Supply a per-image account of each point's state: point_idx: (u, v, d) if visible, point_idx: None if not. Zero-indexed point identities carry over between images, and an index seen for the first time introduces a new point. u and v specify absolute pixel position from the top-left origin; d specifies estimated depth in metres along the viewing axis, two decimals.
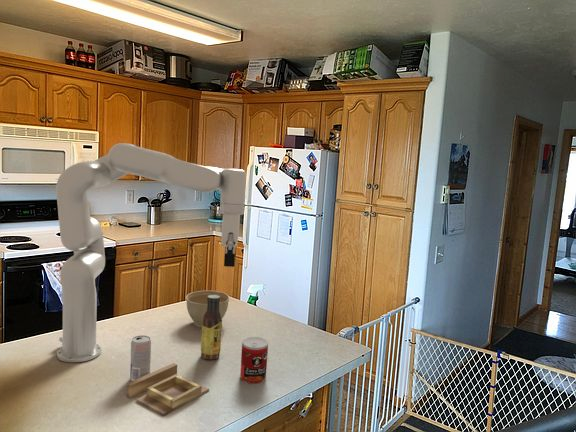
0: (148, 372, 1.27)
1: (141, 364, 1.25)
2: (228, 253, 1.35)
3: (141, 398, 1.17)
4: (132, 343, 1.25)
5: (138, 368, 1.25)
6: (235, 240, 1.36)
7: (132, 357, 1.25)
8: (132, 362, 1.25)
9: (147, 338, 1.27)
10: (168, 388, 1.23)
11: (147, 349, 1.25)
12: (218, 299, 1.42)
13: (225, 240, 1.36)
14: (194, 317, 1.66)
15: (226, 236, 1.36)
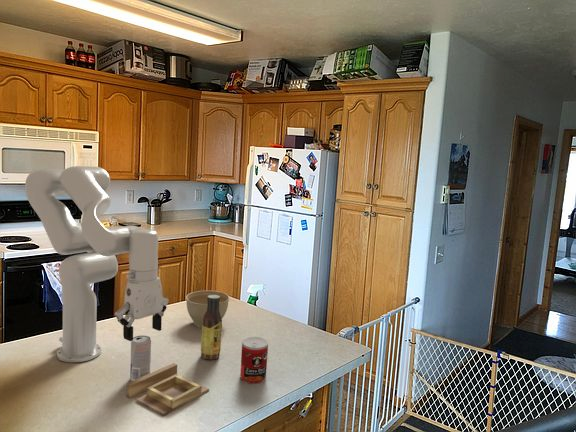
0: (148, 372, 1.27)
1: (141, 364, 1.25)
2: None
3: (141, 398, 1.17)
4: (132, 343, 1.25)
5: (138, 368, 1.25)
6: None
7: (132, 357, 1.25)
8: (132, 362, 1.25)
9: (147, 338, 1.27)
10: (168, 388, 1.23)
11: (147, 349, 1.25)
12: (218, 299, 1.42)
13: None
14: (194, 317, 1.66)
15: None
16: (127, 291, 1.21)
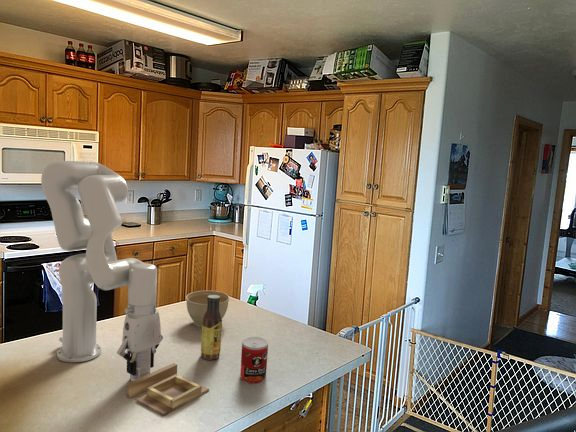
0: (148, 372, 1.27)
1: (141, 364, 1.25)
2: None
3: (141, 398, 1.17)
4: None
5: (138, 368, 1.25)
6: None
7: None
8: None
9: None
10: (168, 388, 1.23)
11: (147, 349, 1.25)
12: (218, 299, 1.42)
13: None
14: (194, 317, 1.66)
15: None
16: (125, 325, 1.23)
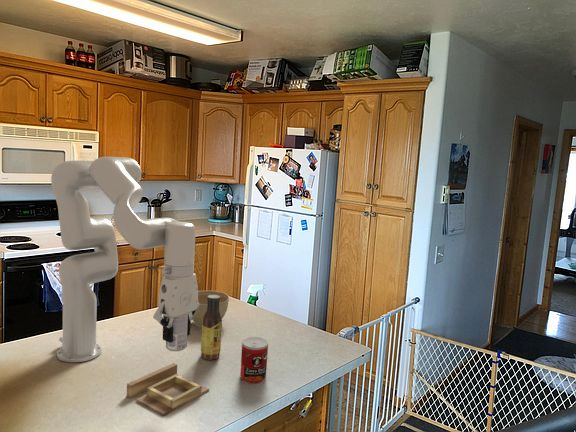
0: (185, 339, 1.17)
1: (178, 331, 1.15)
2: None
3: (141, 398, 1.17)
4: None
5: (175, 334, 1.15)
6: None
7: None
8: None
9: None
10: (168, 388, 1.23)
11: (185, 314, 1.16)
12: (218, 299, 1.42)
13: None
14: (194, 317, 1.66)
15: None
16: (162, 287, 1.13)
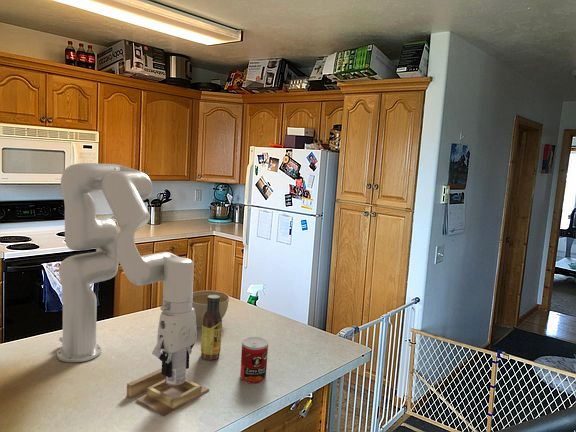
0: (184, 373, 1.19)
1: (177, 365, 1.17)
2: None
3: (141, 398, 1.17)
4: None
5: (174, 369, 1.16)
6: None
7: None
8: None
9: None
10: (168, 388, 1.23)
11: (183, 349, 1.17)
12: (218, 299, 1.42)
13: None
14: None
15: None
16: (161, 323, 1.14)
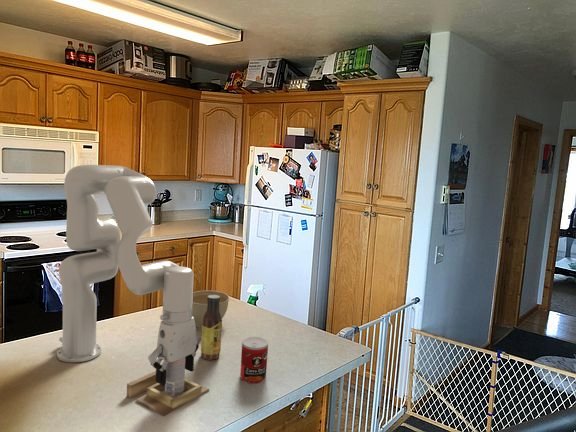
0: (182, 386, 1.19)
1: (175, 379, 1.17)
2: None
3: (141, 398, 1.17)
4: None
5: (172, 382, 1.17)
6: None
7: (166, 371, 1.17)
8: (166, 376, 1.17)
9: None
10: None
11: (182, 362, 1.18)
12: (218, 299, 1.42)
13: None
14: (194, 317, 1.66)
15: None
16: (160, 332, 1.15)
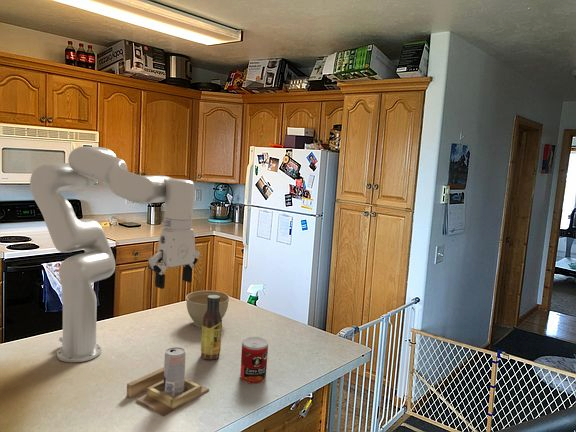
0: (182, 386, 1.19)
1: (175, 379, 1.17)
2: None
3: (141, 398, 1.17)
4: (166, 356, 1.17)
5: (172, 382, 1.17)
6: None
7: (166, 371, 1.17)
8: (166, 376, 1.17)
9: (181, 350, 1.20)
10: None
11: (182, 362, 1.18)
12: (218, 299, 1.42)
13: None
14: (194, 317, 1.66)
15: None
16: (161, 239, 1.21)
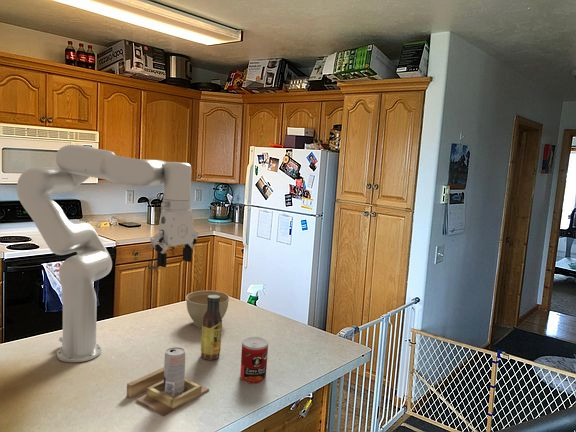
0: (182, 386, 1.19)
1: (175, 379, 1.17)
2: None
3: (141, 398, 1.17)
4: (166, 356, 1.17)
5: (172, 382, 1.17)
6: None
7: (166, 371, 1.17)
8: (166, 376, 1.17)
9: (181, 350, 1.20)
10: None
11: (182, 362, 1.18)
12: (218, 299, 1.42)
13: None
14: (194, 317, 1.66)
15: None
16: (161, 219, 1.26)
